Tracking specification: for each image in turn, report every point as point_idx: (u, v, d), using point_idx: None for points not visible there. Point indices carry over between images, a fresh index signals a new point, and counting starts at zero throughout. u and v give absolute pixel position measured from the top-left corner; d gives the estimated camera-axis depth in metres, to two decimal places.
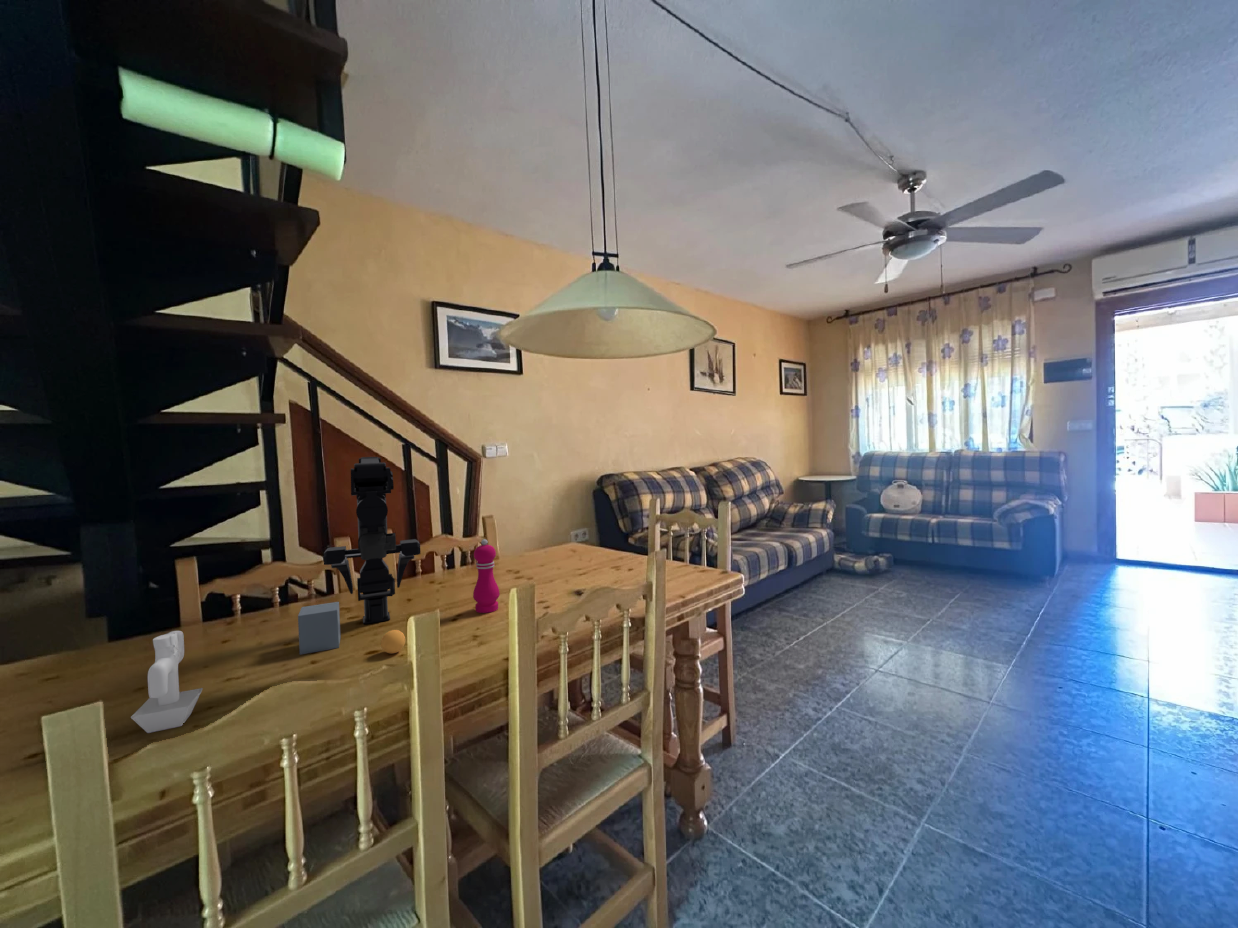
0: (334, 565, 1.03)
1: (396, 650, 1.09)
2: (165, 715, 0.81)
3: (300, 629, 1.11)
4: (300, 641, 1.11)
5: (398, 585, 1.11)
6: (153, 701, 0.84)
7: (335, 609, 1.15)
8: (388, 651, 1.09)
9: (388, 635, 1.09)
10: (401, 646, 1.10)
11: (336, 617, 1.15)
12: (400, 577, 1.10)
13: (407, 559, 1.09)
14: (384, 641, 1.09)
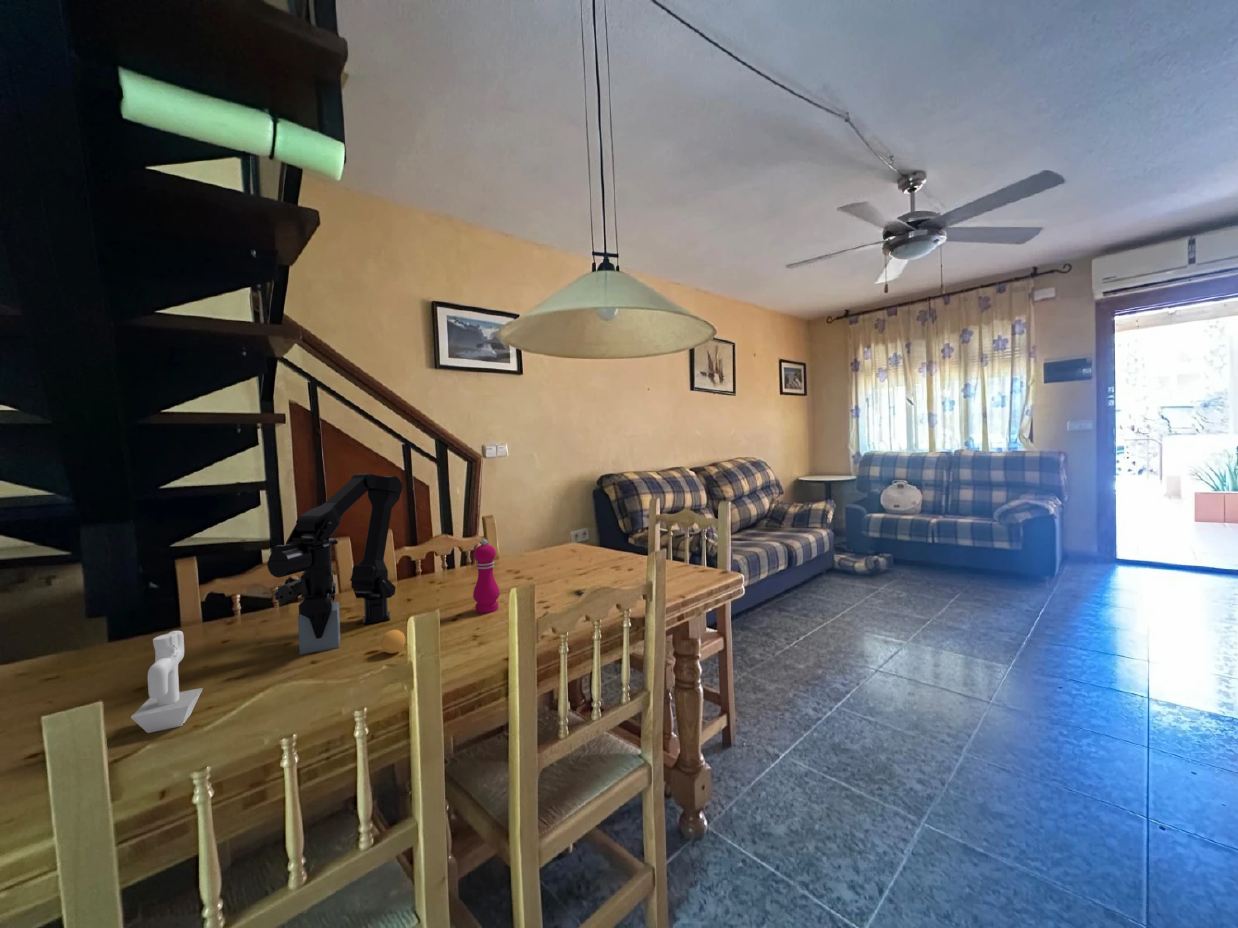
0: None
1: (396, 650, 1.09)
2: (165, 715, 0.81)
3: (300, 629, 1.11)
4: (300, 641, 1.11)
5: None
6: (153, 701, 0.84)
7: (335, 609, 1.15)
8: (388, 651, 1.09)
9: (388, 635, 1.09)
10: (401, 646, 1.10)
11: (336, 617, 1.15)
12: (313, 629, 1.12)
13: None
14: (384, 641, 1.09)
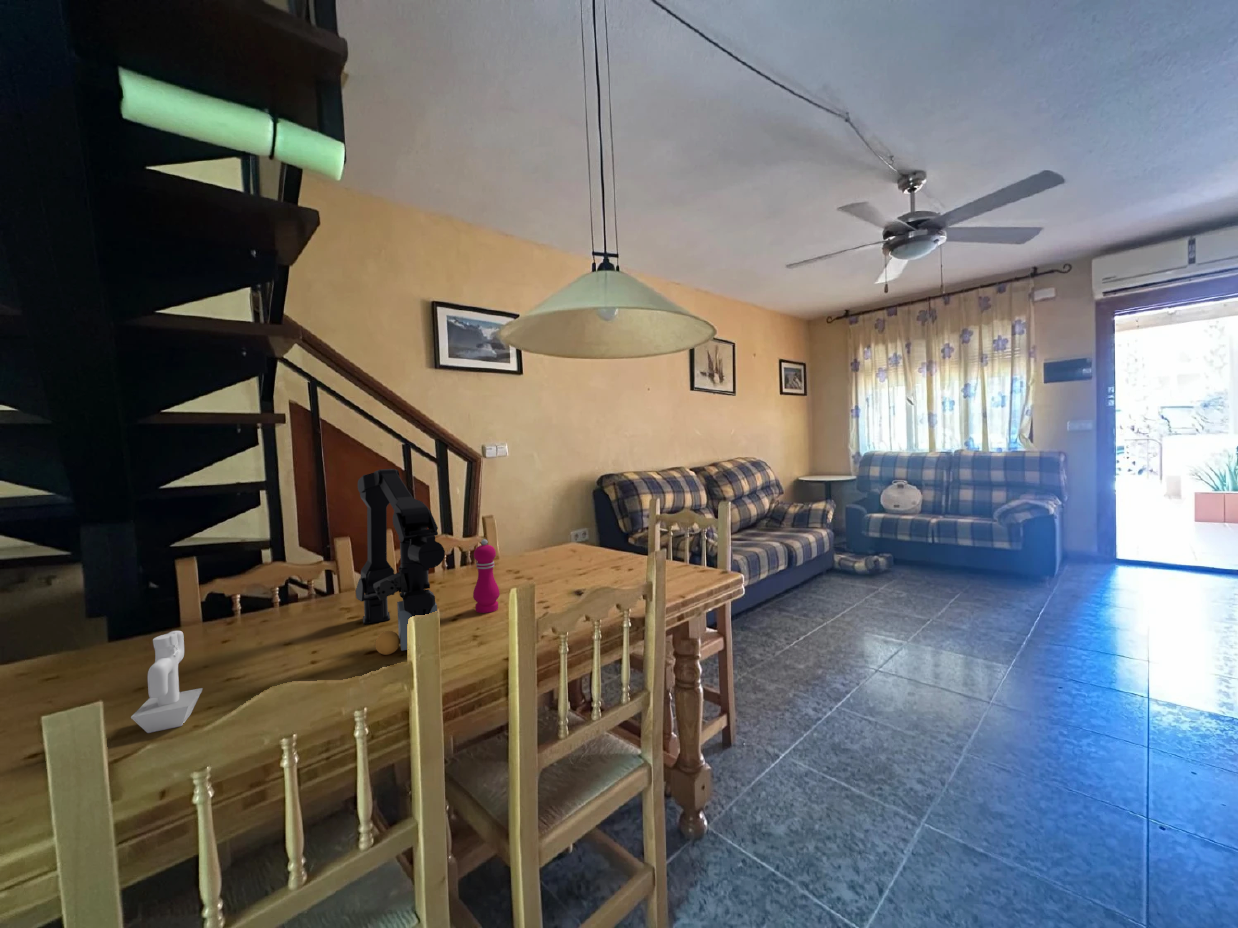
0: (401, 593, 1.18)
1: (393, 650, 1.09)
2: (165, 715, 0.81)
3: (402, 624, 1.08)
4: (402, 637, 1.08)
5: None
6: (153, 701, 0.84)
7: None
8: (386, 653, 1.09)
9: (379, 639, 1.08)
10: (396, 644, 1.10)
11: None
12: None
13: None
14: (377, 646, 1.08)
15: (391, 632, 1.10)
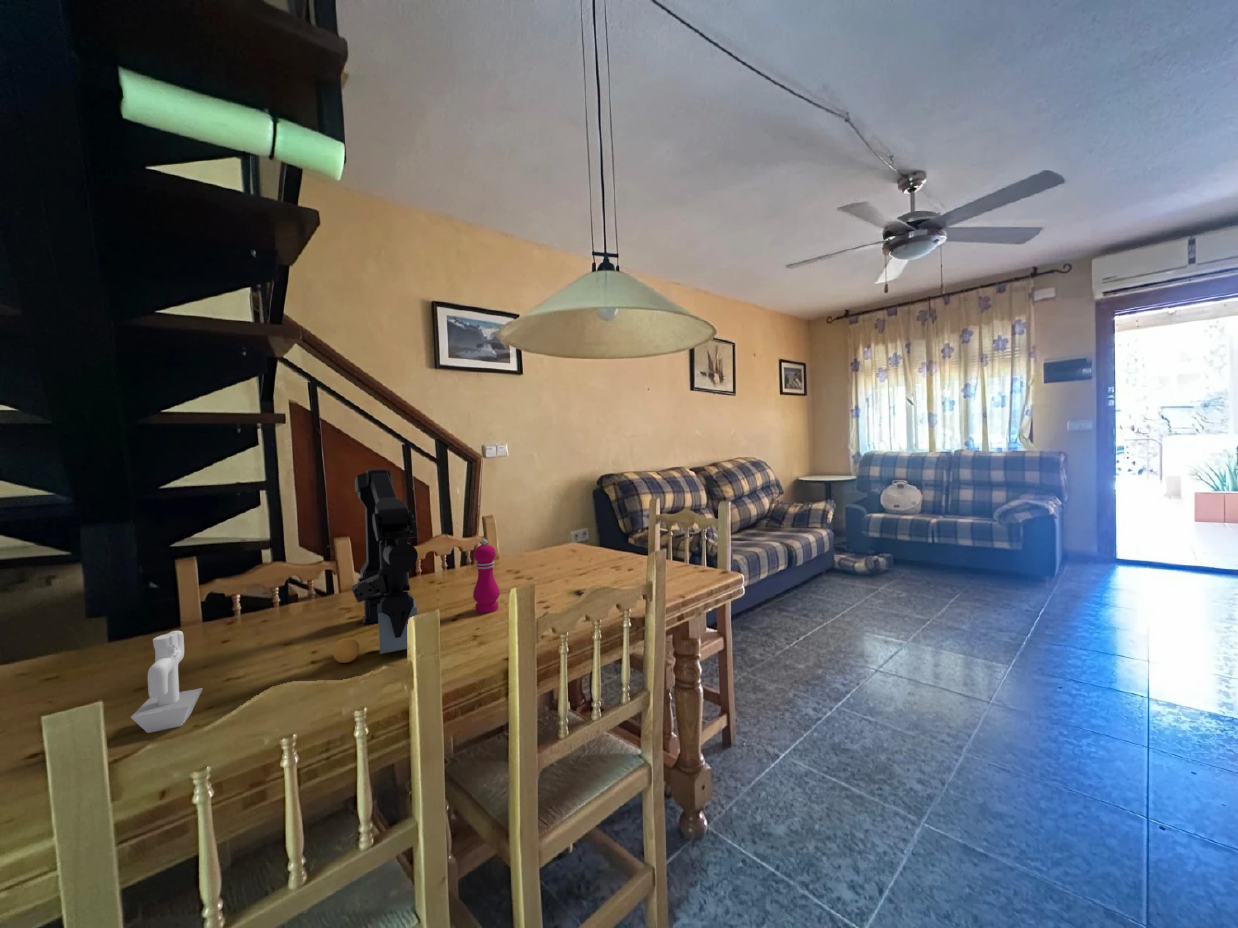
0: (382, 595, 1.16)
1: (339, 648, 1.04)
2: (165, 715, 0.81)
3: (380, 627, 1.06)
4: (380, 640, 1.06)
5: None
6: (153, 701, 0.84)
7: (414, 606, 1.10)
8: (347, 644, 1.05)
9: (356, 656, 1.06)
10: (336, 654, 1.04)
11: (416, 614, 1.09)
12: None
13: None
14: (357, 650, 1.06)
15: None
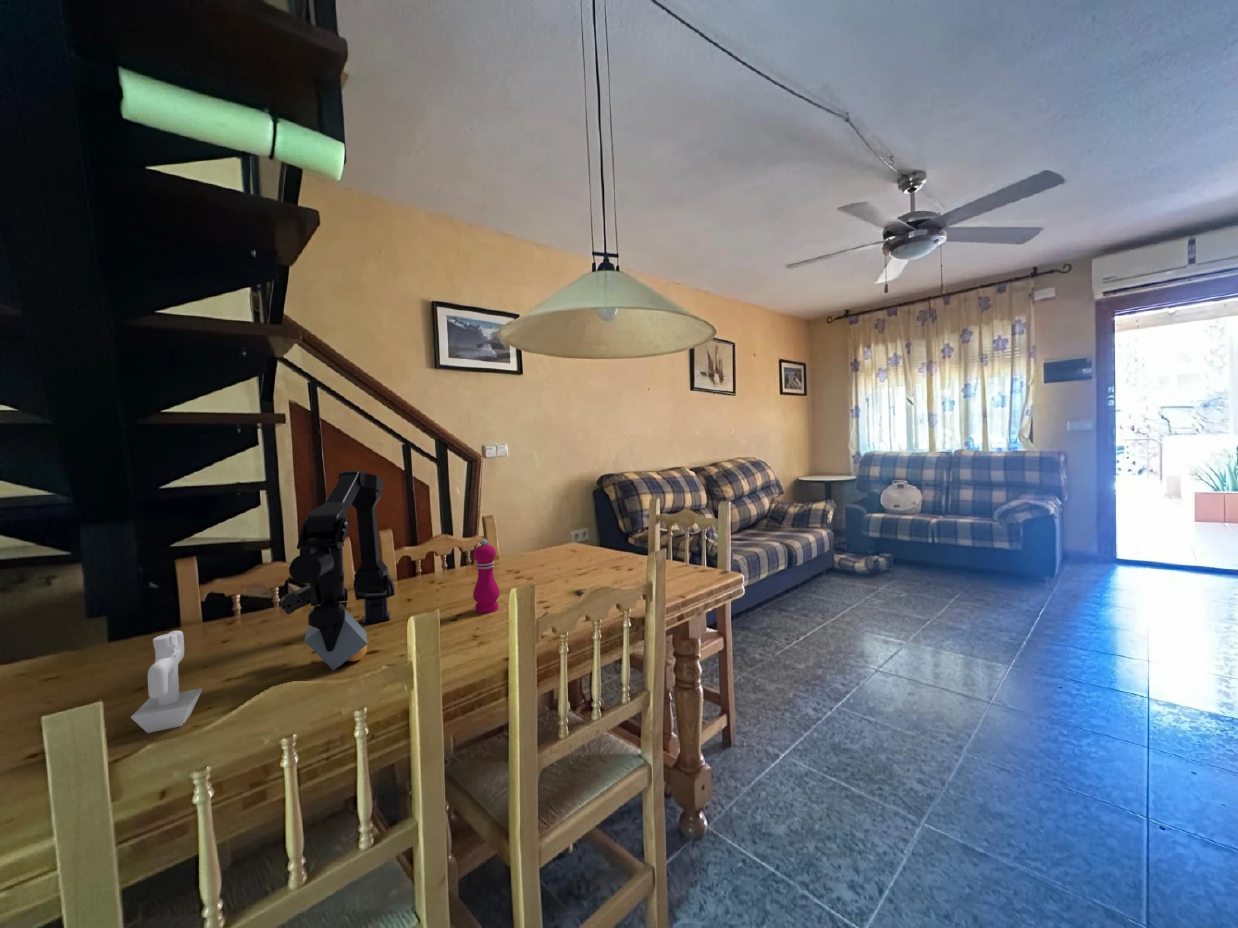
0: None
1: None
2: (165, 715, 0.81)
3: (316, 650, 1.01)
4: (325, 659, 1.02)
5: None
6: (153, 701, 0.84)
7: None
8: None
9: None
10: None
11: None
12: (324, 641, 1.01)
13: None
14: (363, 654, 1.07)
15: None
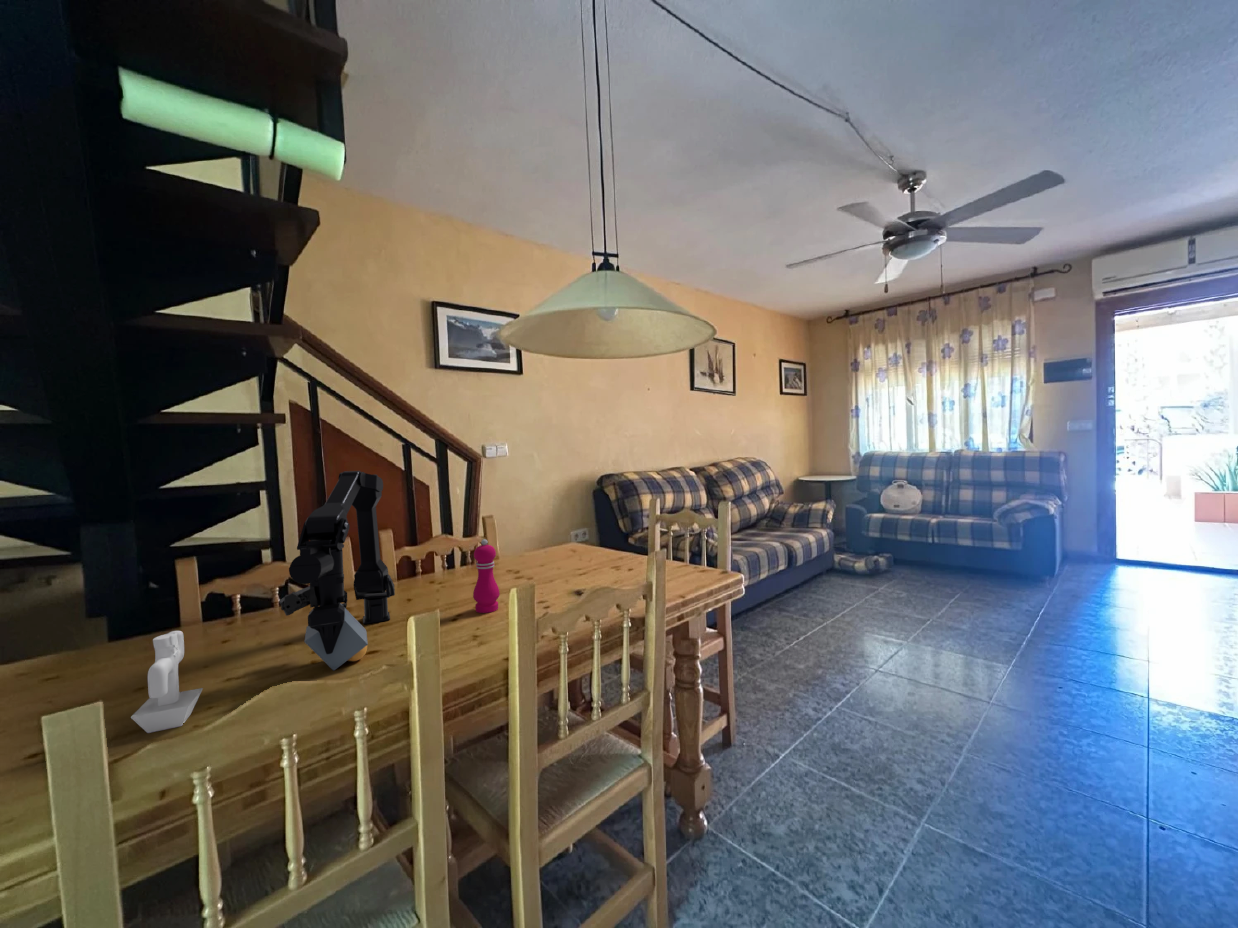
0: None
1: None
2: (165, 715, 0.81)
3: (316, 651, 1.00)
4: (325, 660, 1.01)
5: (325, 651, 1.01)
6: (153, 701, 0.84)
7: None
8: None
9: None
10: None
11: (344, 622, 1.02)
12: (323, 643, 1.00)
13: None
14: (363, 654, 1.07)
15: None
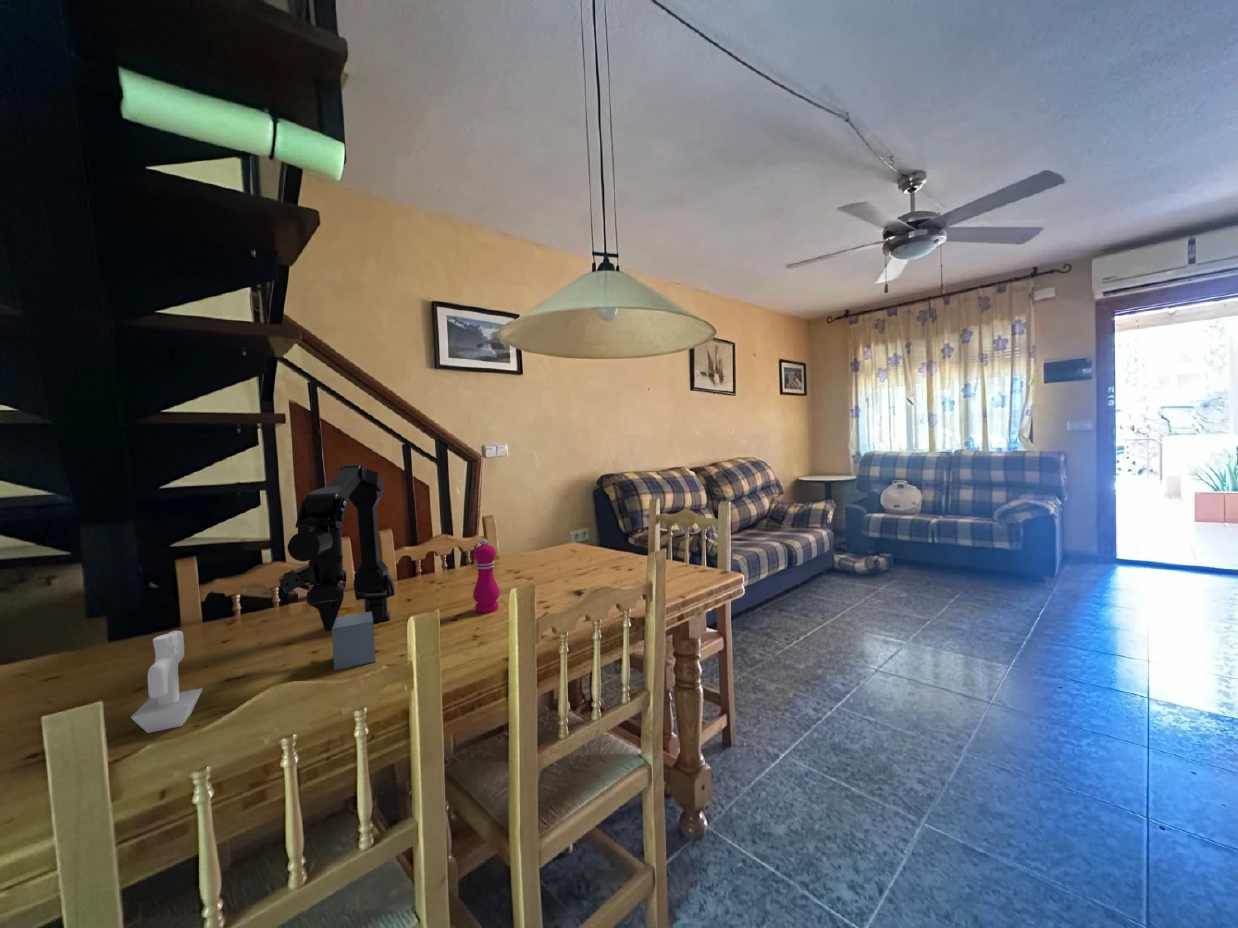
0: None
1: None
2: (165, 715, 0.81)
3: (334, 643, 1.02)
4: (334, 656, 1.02)
5: None
6: (153, 701, 0.84)
7: (370, 620, 1.06)
8: None
9: None
10: None
11: (372, 629, 1.06)
12: (322, 621, 1.00)
13: None
14: None
15: None
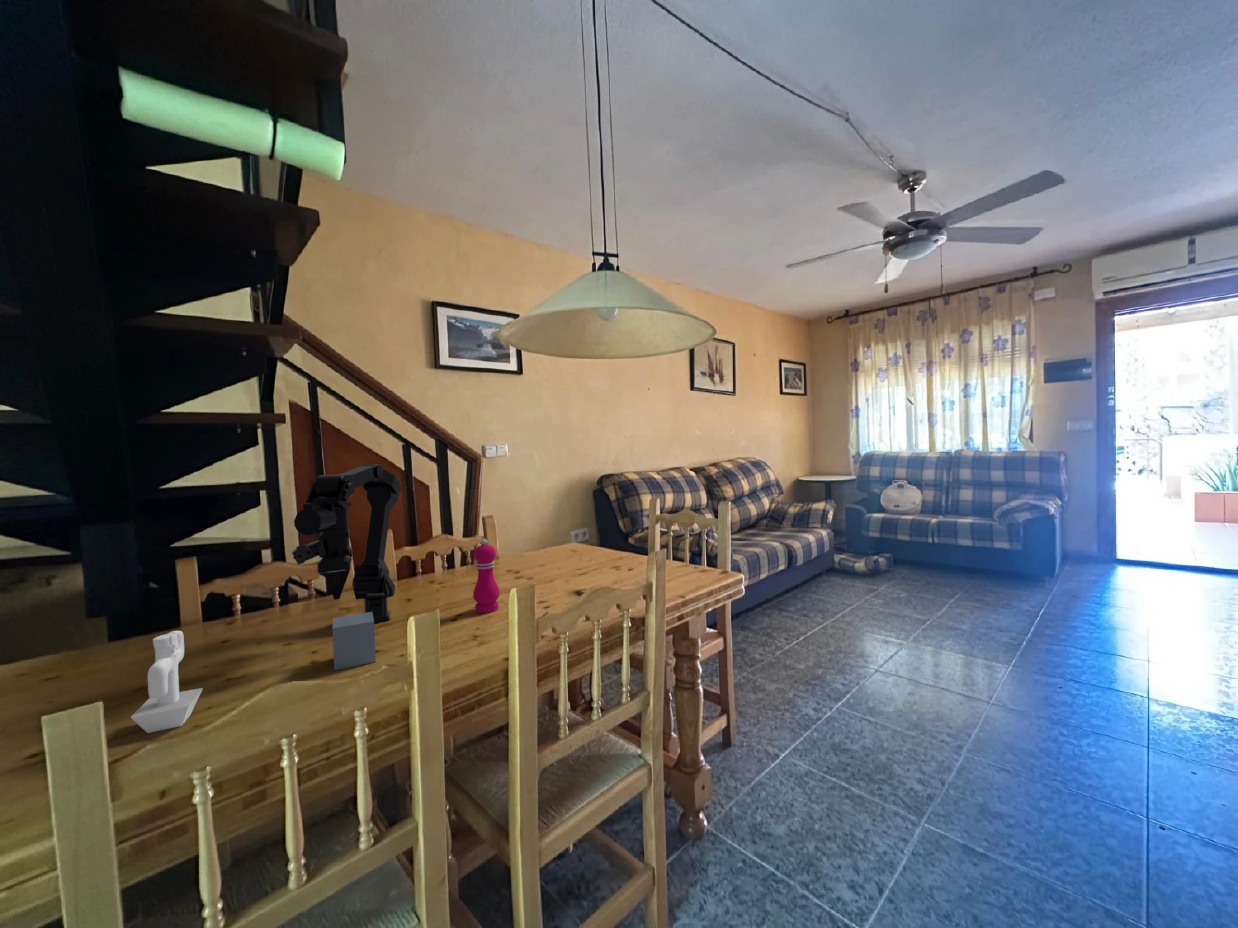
0: None
1: None
2: (165, 715, 0.81)
3: (335, 643, 1.02)
4: (335, 656, 1.03)
5: None
6: (153, 701, 0.84)
7: (371, 620, 1.06)
8: None
9: None
10: None
11: (373, 629, 1.06)
12: (331, 590, 1.11)
13: None
14: None
15: None
